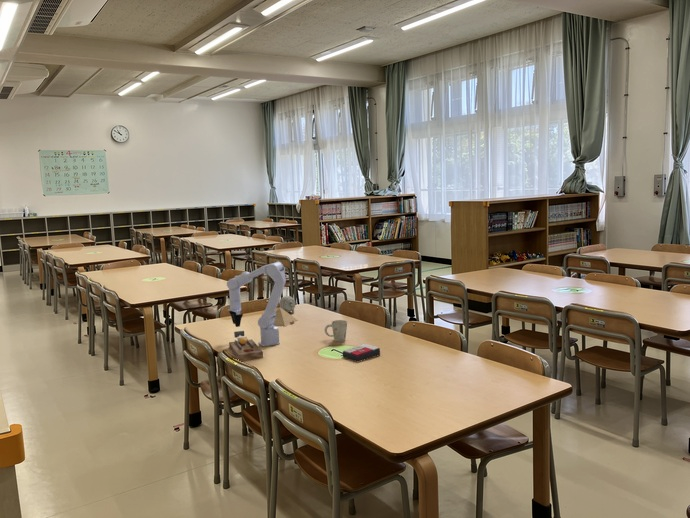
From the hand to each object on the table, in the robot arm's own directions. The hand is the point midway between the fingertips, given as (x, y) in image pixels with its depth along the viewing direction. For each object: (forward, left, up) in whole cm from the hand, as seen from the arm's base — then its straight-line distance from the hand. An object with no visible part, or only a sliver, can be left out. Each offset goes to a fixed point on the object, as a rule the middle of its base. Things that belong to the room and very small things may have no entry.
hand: (236, 325), depth 292 cm
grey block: (0, +10, -6) cm, 11 cm away
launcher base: (0, +21, -9) cm, 23 cm away
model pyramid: (-33, -30, -10) cm, 46 cm away
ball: (0, +17, -5) cm, 17 cm away
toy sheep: (-44, -54, -10) cm, 70 cm away
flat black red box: (-50, +52, -10) cm, 73 cm away
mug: (-49, +21, -10) cm, 54 cm away
